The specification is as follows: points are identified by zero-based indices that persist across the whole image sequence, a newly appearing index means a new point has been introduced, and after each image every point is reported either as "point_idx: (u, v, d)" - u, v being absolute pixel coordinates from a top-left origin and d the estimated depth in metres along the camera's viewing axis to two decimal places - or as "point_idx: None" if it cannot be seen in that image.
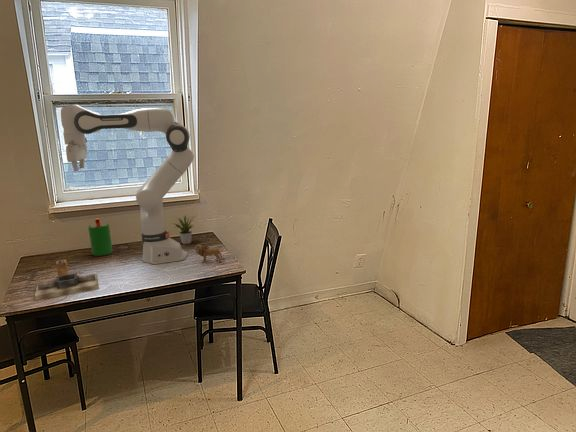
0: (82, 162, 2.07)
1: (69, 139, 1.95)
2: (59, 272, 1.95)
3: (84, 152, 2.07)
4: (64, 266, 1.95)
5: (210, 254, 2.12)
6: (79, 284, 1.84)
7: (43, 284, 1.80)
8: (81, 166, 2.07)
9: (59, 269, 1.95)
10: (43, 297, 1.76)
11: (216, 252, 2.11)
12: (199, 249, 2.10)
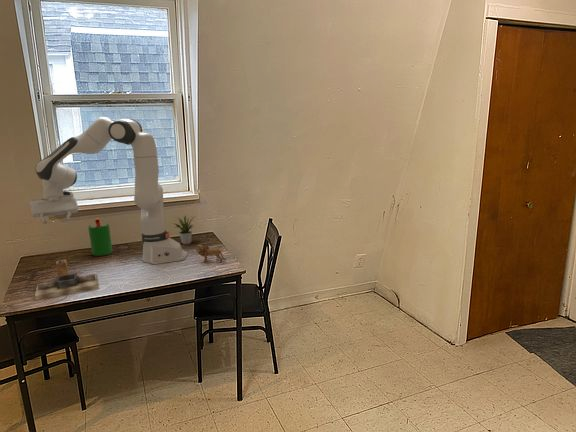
0: None
1: None
2: (59, 272, 1.95)
3: (68, 204, 2.07)
4: (64, 266, 1.95)
5: (211, 254, 2.12)
6: (79, 284, 1.84)
7: (43, 284, 1.80)
8: (65, 218, 2.05)
9: (59, 269, 1.95)
10: (43, 297, 1.76)
11: (217, 252, 2.11)
12: (200, 249, 2.10)
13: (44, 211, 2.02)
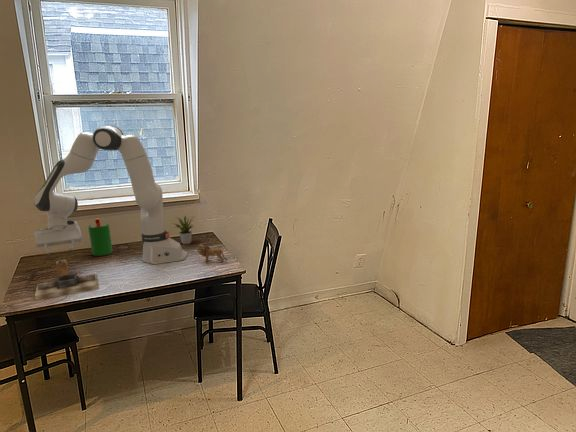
0: None
1: None
2: (59, 272, 1.95)
3: (72, 234, 2.06)
4: (64, 266, 1.95)
5: (212, 254, 2.12)
6: (79, 284, 1.84)
7: (43, 284, 1.80)
8: None
9: (59, 269, 1.95)
10: (43, 297, 1.76)
11: (218, 252, 2.11)
12: (201, 249, 2.10)
13: (48, 241, 2.01)
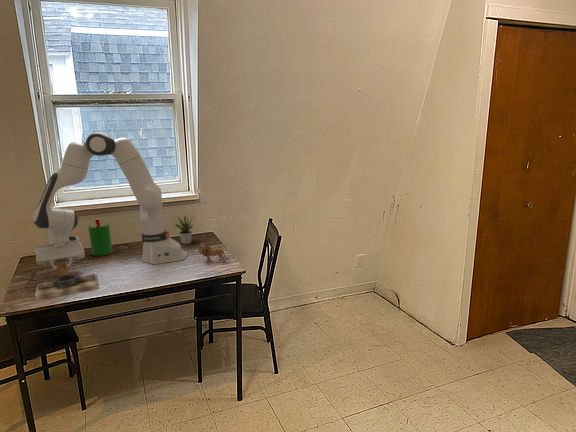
0: None
1: None
2: (59, 272, 1.95)
3: (74, 250, 2.01)
4: (64, 266, 1.95)
5: (214, 254, 2.12)
6: (79, 284, 1.84)
7: (43, 284, 1.80)
8: None
9: (59, 269, 1.95)
10: (43, 297, 1.76)
11: (220, 252, 2.10)
12: (203, 249, 2.10)
13: (50, 258, 1.95)
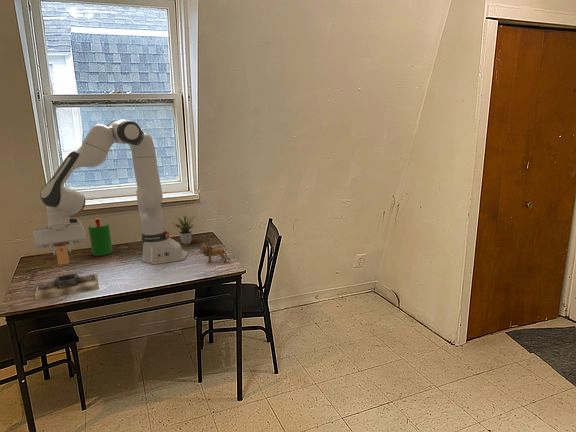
0: None
1: None
2: (59, 256, 1.80)
3: (75, 233, 1.86)
4: (64, 250, 1.80)
5: (215, 254, 2.12)
6: (79, 284, 1.84)
7: (43, 284, 1.80)
8: (67, 250, 1.83)
9: (59, 253, 1.80)
10: (43, 297, 1.76)
11: (221, 252, 2.10)
12: (204, 249, 2.10)
13: (48, 242, 1.81)
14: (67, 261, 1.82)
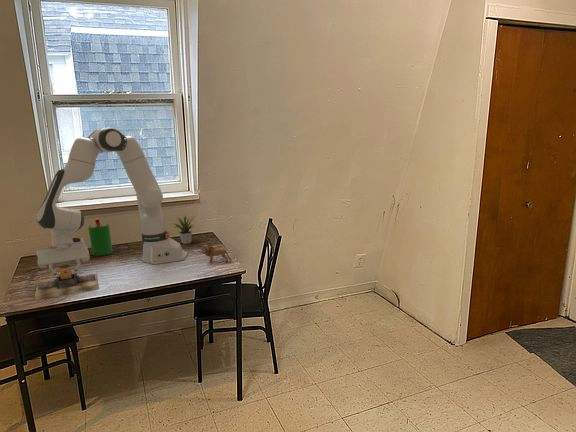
0: None
1: None
2: (63, 278, 1.82)
3: (79, 252, 1.88)
4: (68, 272, 1.82)
5: (217, 254, 2.11)
6: (79, 284, 1.84)
7: (43, 284, 1.80)
8: None
9: (63, 275, 1.82)
10: (43, 297, 1.76)
11: (223, 252, 2.10)
12: (206, 249, 2.10)
13: (52, 261, 1.82)
14: None
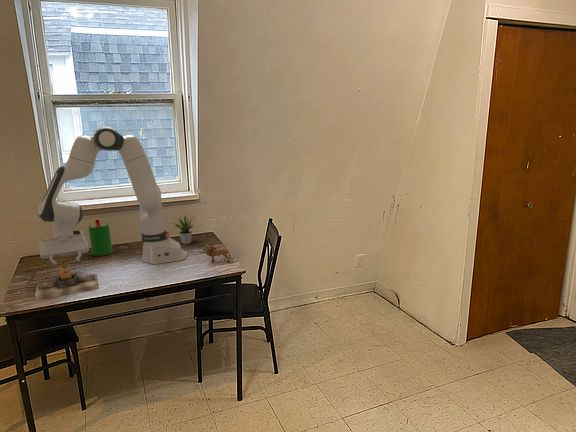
0: None
1: None
2: (63, 278, 1.82)
3: (79, 244, 1.99)
4: (68, 272, 1.82)
5: (219, 254, 2.11)
6: (79, 284, 1.84)
7: (43, 284, 1.80)
8: None
9: (63, 275, 1.82)
10: (43, 297, 1.76)
11: (225, 252, 2.10)
12: (208, 249, 2.10)
13: (54, 252, 1.94)
14: None
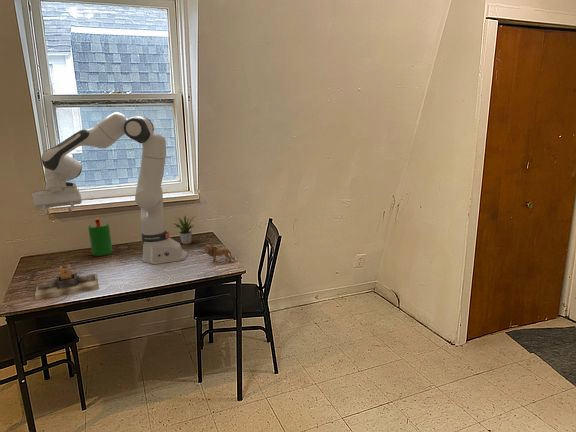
0: None
1: None
2: (63, 278, 1.82)
3: (71, 195, 2.02)
4: (68, 272, 1.82)
5: (220, 254, 2.11)
6: (79, 284, 1.84)
7: (43, 284, 1.80)
8: None
9: (63, 275, 1.82)
10: (43, 297, 1.76)
11: (226, 252, 2.10)
12: (209, 249, 2.10)
13: (46, 202, 1.97)
14: None
